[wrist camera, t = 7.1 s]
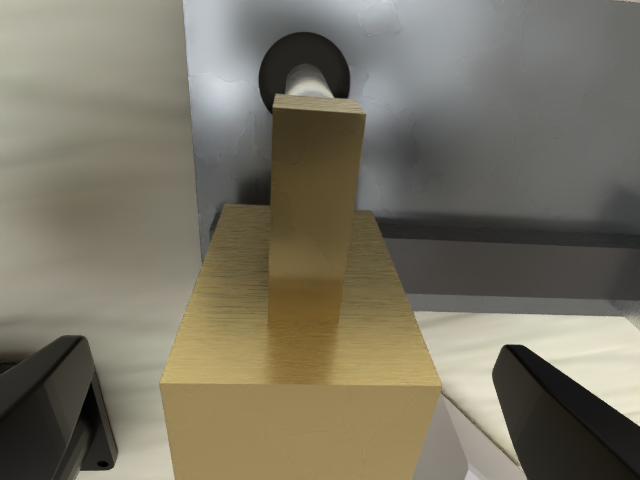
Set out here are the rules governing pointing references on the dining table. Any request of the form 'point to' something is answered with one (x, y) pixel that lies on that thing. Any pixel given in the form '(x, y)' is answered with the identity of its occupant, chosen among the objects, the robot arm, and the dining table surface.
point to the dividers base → (448, 137)
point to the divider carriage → (300, 323)
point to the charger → (460, 450)
